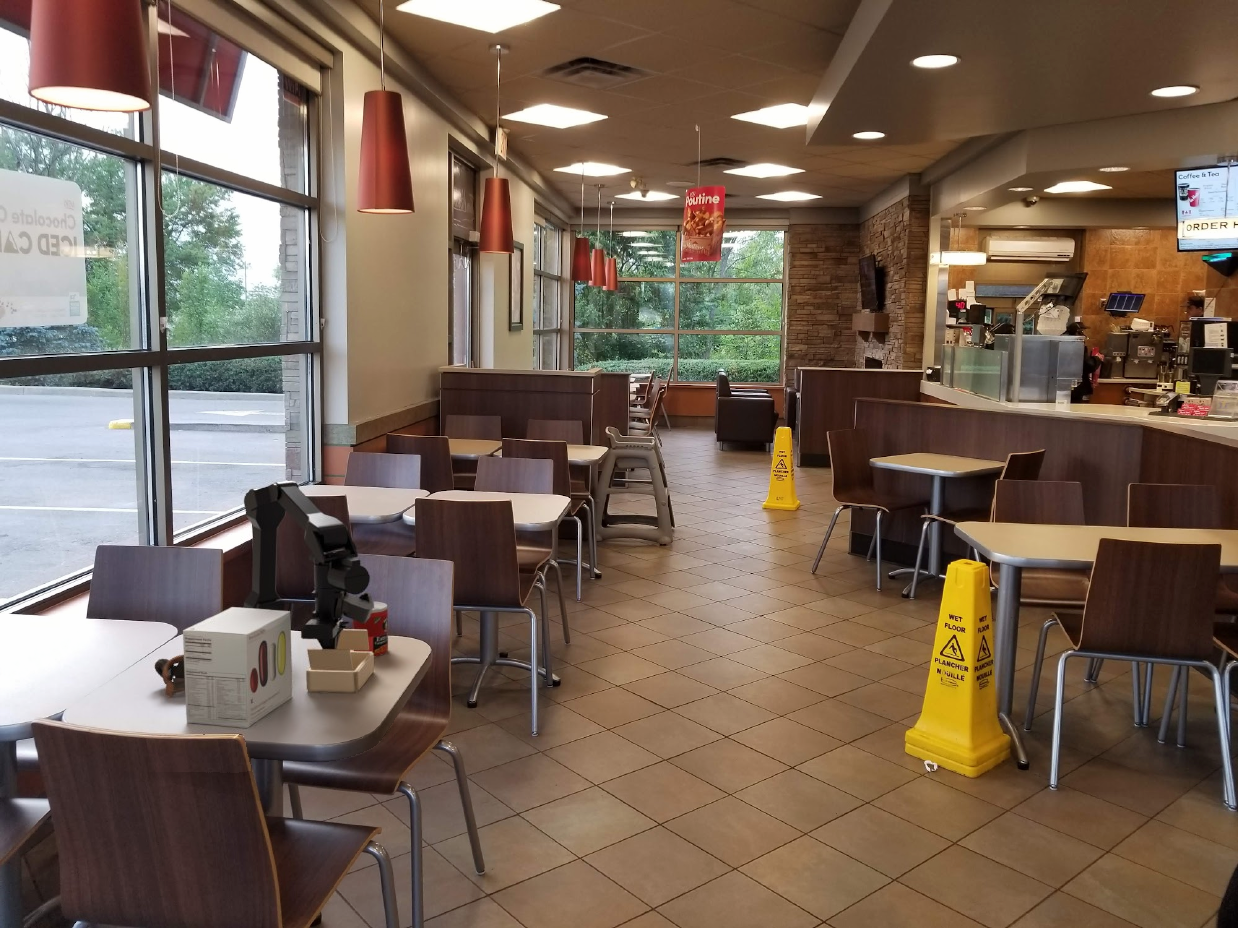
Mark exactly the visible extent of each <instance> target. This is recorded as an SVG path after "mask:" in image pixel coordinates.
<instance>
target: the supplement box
mask: <svg viewBox="0 0 1238 928" xmlns="http://www.w3.org/2000/svg"><path fill="white" fill-rule="evenodd" d="M291 616H292V615H291V611H290V610H289V611H288V610H284V611H279V610H266V609H253V608H244V607H235V606H231V607H229V608H227V609H225V610H223V611H221V612H219V613H217V614H214V615H213V616H212V615H211V616H210V617H208V618H206V619H204V620H202V621H200V622H197V623H195V624H193V625H192V626H189V627H186V628H185V629H183V630H182V639H183V640H182V641H183V655H184V670H185V691H184V692H185V711H186V712H185V714H186V715H185V716H186V723H189V724H191V723H192V724H203V725H209V726H210V725H212V726H213V725H214V726H223V727H233V728H242V729H249V727H251V726H252V725H253V724H255V723H257V722H258V721H259V720H261V719H262V718H264V717H265V716H266V715H268V714H270V713H271V712H272V711H274V710H275V709H277V708H278V707H280V706H281V705H283V704H284V703H286V702H287V701H289V700H290V699H292V698H293V675H292V674H293V673H292V672H293V670H292V669H293V667H292V664H293V663H292V660H293V659H292V630H291V629H292V628H291V625H292V623H291Z"/></svg>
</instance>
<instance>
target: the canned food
mask: <svg viewBox="0 0 1238 928" xmlns="http://www.w3.org/2000/svg"><path fill="white" fill-rule="evenodd" d="M373 602H374V608H373V609H372V612H371V615H370V618H369V619H368V620H367V621H366V623H359V622H357V620H354V619H352V629H354V630H367V633H368V643H369V650H353V651H356V652H373V653H374V657H379V655H380V656H383V655H385V654H386V653H388V649H389V624H388V623H389V621H388V620H389V616H388V615H389V614H388V613H389V612H388V610H389V609H388V604H387V603H385V602H381V601H373Z"/></svg>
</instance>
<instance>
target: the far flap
mask: <svg viewBox="0 0 1238 928" xmlns="http://www.w3.org/2000/svg"><path fill="white" fill-rule="evenodd" d="M337 649H350V651H354V650H369V643H368V633H367V630H354V629H353V628H351V629H349V628H347V629H345V628H344V629H343V630H342V632H341V633H340V637H339V641H338V646H337Z"/></svg>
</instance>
